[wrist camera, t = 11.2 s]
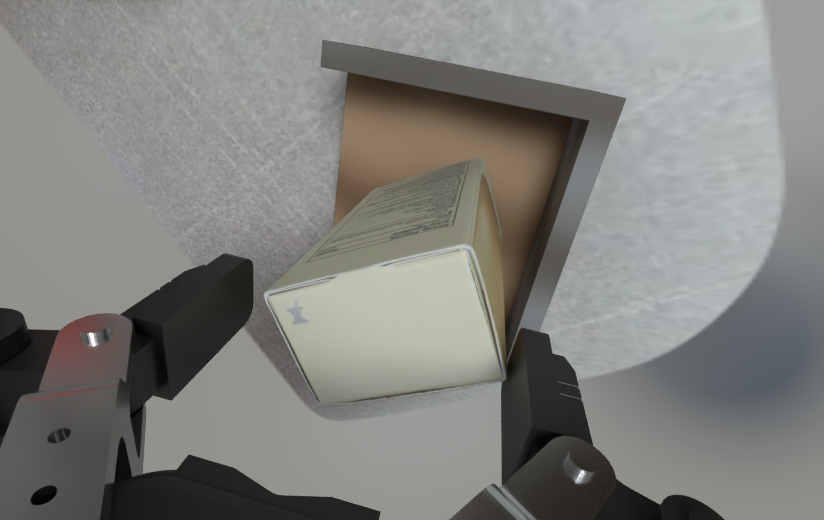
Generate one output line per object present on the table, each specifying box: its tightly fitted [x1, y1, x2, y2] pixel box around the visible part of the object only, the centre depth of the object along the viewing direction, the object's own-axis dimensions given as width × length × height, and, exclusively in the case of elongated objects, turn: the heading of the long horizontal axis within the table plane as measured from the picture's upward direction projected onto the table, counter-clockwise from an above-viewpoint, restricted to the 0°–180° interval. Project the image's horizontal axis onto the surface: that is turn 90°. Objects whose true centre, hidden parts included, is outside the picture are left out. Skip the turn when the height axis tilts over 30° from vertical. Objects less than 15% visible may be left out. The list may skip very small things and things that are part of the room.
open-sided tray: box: [321, 40, 626, 363], centre depth 22 cm, size 14×12×6 cm
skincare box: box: [264, 158, 507, 407], centre depth 17 cm, size 6×4×12 cm
